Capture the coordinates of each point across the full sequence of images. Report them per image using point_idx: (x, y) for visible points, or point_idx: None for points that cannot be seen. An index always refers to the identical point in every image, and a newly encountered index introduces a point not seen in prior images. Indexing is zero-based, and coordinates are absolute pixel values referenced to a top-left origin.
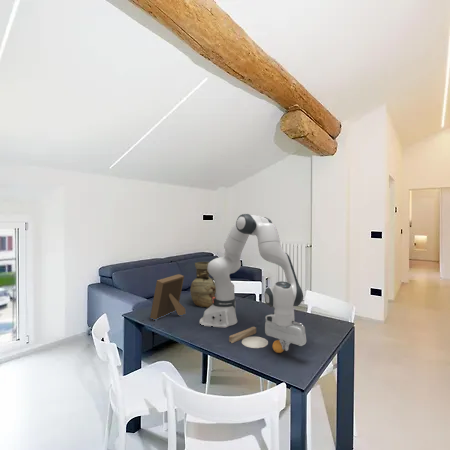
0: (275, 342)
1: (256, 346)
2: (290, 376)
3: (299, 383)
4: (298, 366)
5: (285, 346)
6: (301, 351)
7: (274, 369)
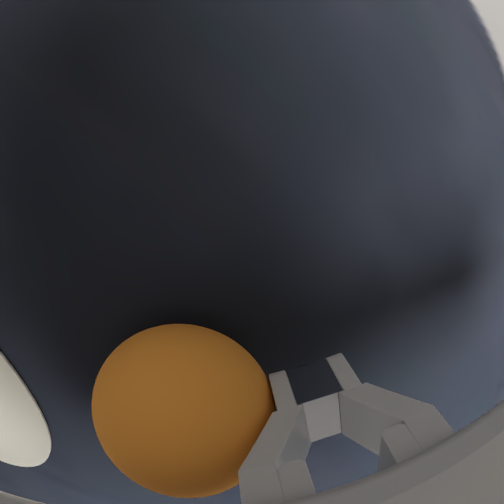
0: (190, 497)
1: (28, 436)
2: (463, 416)
3: (500, 397)
4: (465, 335)
5: (355, 433)
6: (320, 85)
7: (376, 466)
